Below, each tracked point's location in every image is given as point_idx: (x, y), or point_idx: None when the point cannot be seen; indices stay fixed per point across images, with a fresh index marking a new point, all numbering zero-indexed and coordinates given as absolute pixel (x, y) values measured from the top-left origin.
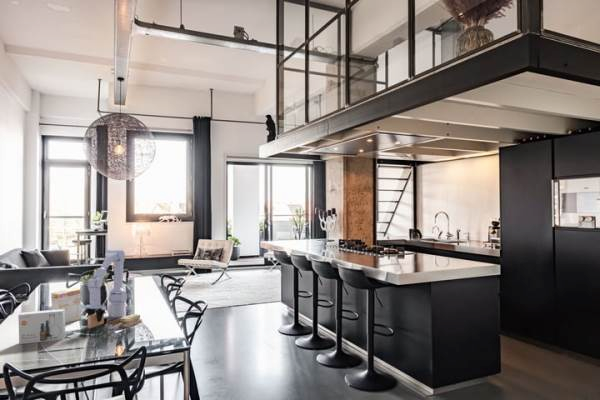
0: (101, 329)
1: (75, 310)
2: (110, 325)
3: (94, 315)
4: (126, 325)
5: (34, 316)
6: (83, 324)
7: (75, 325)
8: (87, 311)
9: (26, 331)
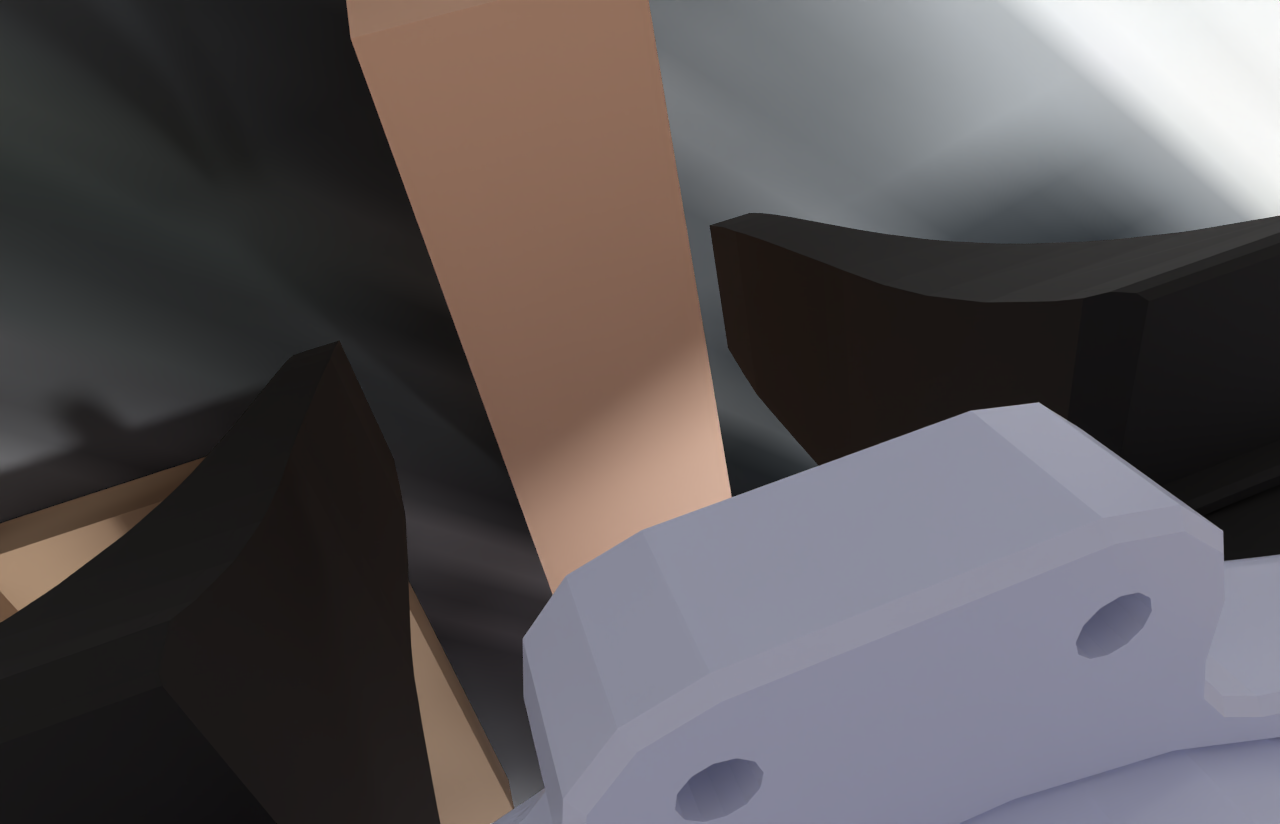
0: (13, 234)
1: None
2: (58, 559)
3: (487, 408)
4: None
5: None
6: (1117, 207)
7: (1270, 30)
8: (1122, 271)
9: None
